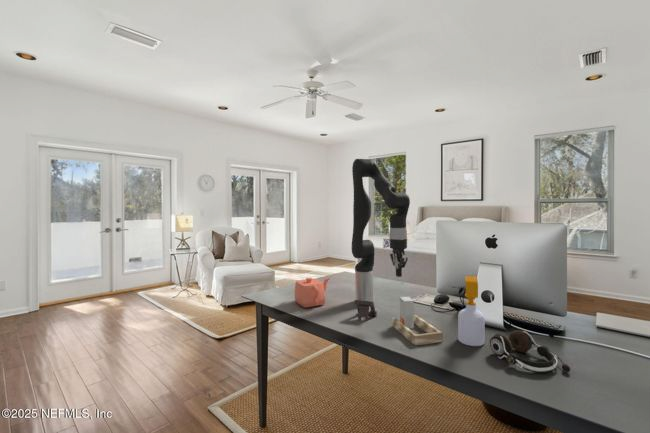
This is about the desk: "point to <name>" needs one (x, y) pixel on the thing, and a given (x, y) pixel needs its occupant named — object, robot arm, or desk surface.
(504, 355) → the headset
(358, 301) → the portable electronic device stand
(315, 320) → the desk surface
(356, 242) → the robot arm
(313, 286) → the teapot
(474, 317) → the soap bottle
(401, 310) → the skincare box
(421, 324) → the wooden tray
